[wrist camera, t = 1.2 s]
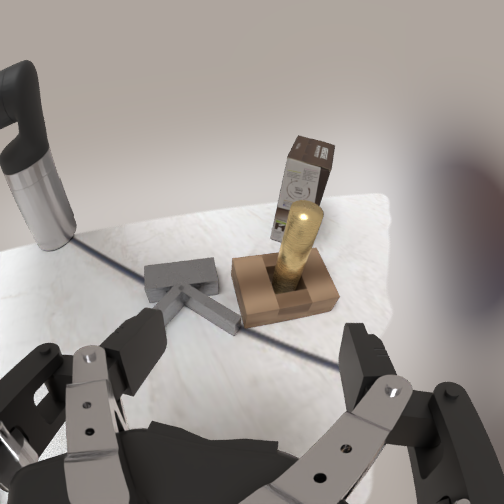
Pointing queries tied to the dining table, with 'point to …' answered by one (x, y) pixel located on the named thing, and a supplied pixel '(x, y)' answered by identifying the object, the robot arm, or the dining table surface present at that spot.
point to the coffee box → (302, 178)
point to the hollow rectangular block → (285, 304)
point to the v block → (188, 291)
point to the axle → (296, 245)
